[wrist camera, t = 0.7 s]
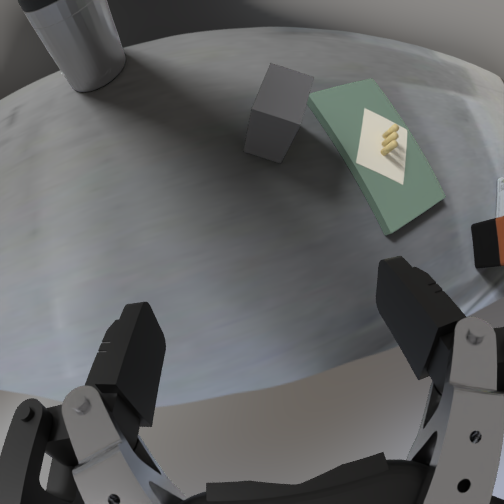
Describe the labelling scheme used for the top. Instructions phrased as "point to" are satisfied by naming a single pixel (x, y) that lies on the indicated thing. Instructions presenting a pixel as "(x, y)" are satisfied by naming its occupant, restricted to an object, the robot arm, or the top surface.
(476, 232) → the battery
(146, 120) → the top surface
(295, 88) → the dark grey rectangular block
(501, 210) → the tea box
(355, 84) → the board
